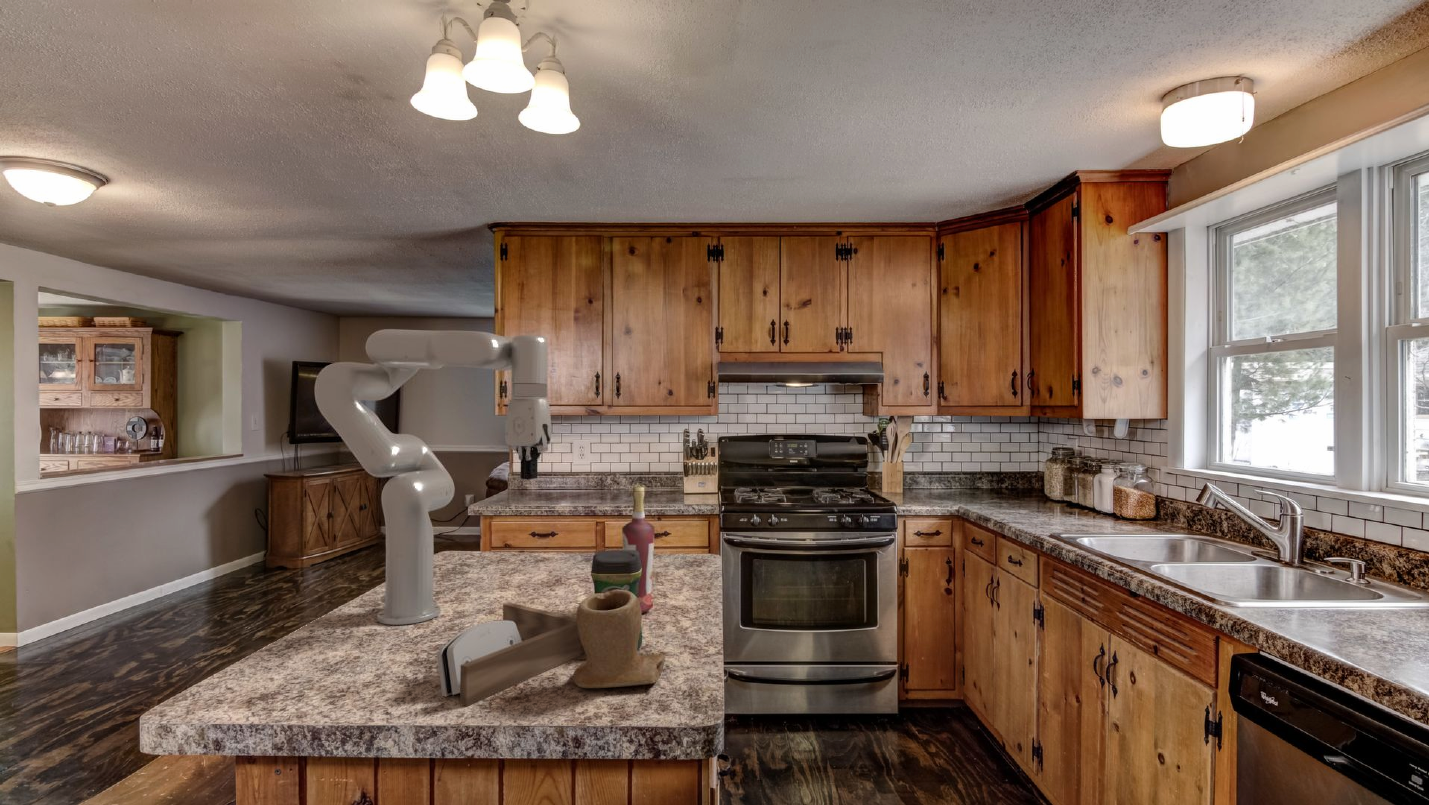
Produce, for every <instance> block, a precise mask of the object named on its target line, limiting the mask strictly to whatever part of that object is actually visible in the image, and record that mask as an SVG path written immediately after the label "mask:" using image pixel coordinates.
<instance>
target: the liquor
mask: <svg viewBox="0 0 1429 805" xmlns="http://www.w3.org/2000/svg"><path fill="white" fill-rule="evenodd" d="M632 498H633V503H632V504H633V505H632V506H633V507H632V515H631V521H630V522H627V523H626V524H625V525H623V527H621V532H622V550H637V551H638V552H639V555H640V561H641V567H642V573H641V577H640V579H639V584H638V595H639V603H640V607H641V614H647V613H648V612H649V611H650V610H651V609H652V608H653V607H654V603H653V600H652V594H653V593H652V589H653V588H652V586H653V566H654V552H655V550H654V549H655V548H654V547H655V531H656V530H655V528H656V527H655V526H654V525H653V524H652V523H651V522H648V521H646V517H645V516H646V515H645V505H644V504H645V503H644V500H645V486H632Z"/></svg>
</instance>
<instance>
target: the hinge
mask: <svg viewBox="0 0 1429 805" xmlns="http://www.w3.org/2000/svg"><path fill="white" fill-rule="evenodd" d="M522 641H523V640H522V639H521V637H520V634H519V632H518V629H517V626H516V624H515V622H513V621H503V620H493V621H486V622H483V623H480V624H475V625H474V626H470V627H468V628H467V629H465V630H463V631H461V632H460V633H458V634H456V635H455V636H454V637H452V638H451V639H450V640H448V641H447V642H446V643H445V644H444V645H443V646H442V647H441V648H440V649H439V650H438V651H437V654H436V659H437V660H436V661H437V667H438V674H439V680H440V681H439V682H440V689H441V697H443V696H445V697H446V698H447V697H448V696H450V695H452V696H454V695H457V694H460V672H461V665H462V664H464V663H467V662H470V661H472V660H475V659H478V658H480V657H483V656H485V655H488V654H491V653H493V652H496V651H499V650H501V649H504V648H507V647H509V646H512V645H514V644H517V643H520V642H522ZM445 697H444V698H445Z"/></svg>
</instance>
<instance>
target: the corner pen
mask: <svg viewBox="0 0 1429 805" xmlns="http://www.w3.org/2000/svg"><path fill="white" fill-rule="evenodd" d="M502 621H513V622H515V624H516V626H517V629H518V632H519V634H520V637H521V640H522V639H523V640H522V642H520V643H517V644H514V645H512V646H509V647H507V648H504V649H501V650H499V651H496V652H493V653H491V654H488V655H485V656H483V657H480V658H478V659H475V660H472V661H470V662H467V663H464V664H462V665H461V672H460V693H459V695H460V697H459V698H460V700H459V704H460V705H461V706H463V707H465V708H466V707H469V706H471V705H474V704H476V703H478V702H480V701H483V700H485V699H488V698H489V697H491V696H494V695H495V694H498V693H500V692H503V691H505V690H507V689H509V688H511V687H514V686H517V685H519V684H521V683H523V682H525V681H528V680H529V678H530V679H531V678H535V677H537V676H539V675H541V674H543V673H545V672H547V671H549V670H551V669H553V668H557V667H559V666H560V665H563V664H565V663H567V662H569V661H570V662H571V661H572V660H575V659H576V658H577V659H578V657H581V656H583V655H586V653H585V650H584V648H583V645H582V643H581V640H580V637H579V633H578V626H577V617H573V616H569V615H568V616H567V615H564V614H560V613H555V612H551V611H547V610H543V609H538V608H534V607H530V606H527V605H526V606H525V605H521V604H518V603H517V604H516V603H515V602H514V603H512V602H507V603H503V605H502ZM482 699H483V700H482Z"/></svg>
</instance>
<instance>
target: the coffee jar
mask: <svg viewBox="0 0 1429 805" xmlns="http://www.w3.org/2000/svg"><path fill="white" fill-rule="evenodd" d="M591 564H592V565H591V571H590V576H591V580H592V582H593V590H594V591H593V592H594V593H593V594H597V593H606V592H609V591H612V590H626V591H629V592H631V593H633V594H634V595H635V596H636V597H637V598H638V601H639V595H638V584H639V579H640V577H641V573H642V567H641V561H640V555H639V552H638V551H637V550H623V549H607V550H598V551H596V552H595V553H594V554H593V558H592V563H591ZM642 628H643V627H642V626H641V628H640V634H639V640H638V647H637V651H638V650H639V649H640V648H641V647H642V644H643V630H642Z"/></svg>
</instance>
